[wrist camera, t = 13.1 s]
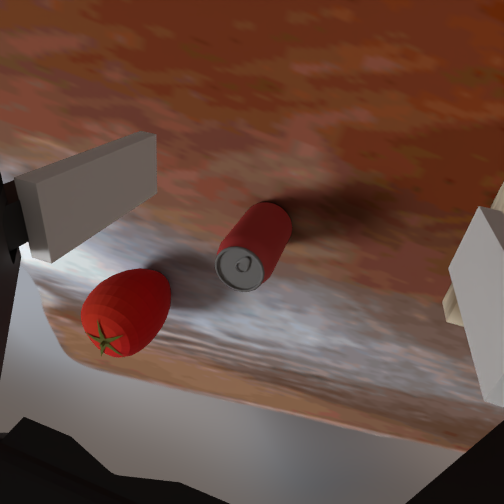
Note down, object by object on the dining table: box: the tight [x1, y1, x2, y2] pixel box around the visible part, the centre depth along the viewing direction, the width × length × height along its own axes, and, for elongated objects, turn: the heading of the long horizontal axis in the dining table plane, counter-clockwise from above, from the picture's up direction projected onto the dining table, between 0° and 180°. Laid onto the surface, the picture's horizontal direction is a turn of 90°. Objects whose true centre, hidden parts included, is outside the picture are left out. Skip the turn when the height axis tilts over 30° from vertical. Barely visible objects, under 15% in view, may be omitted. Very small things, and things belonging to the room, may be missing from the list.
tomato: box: [81, 268, 171, 357], centre depth 55 cm, size 13×11×14 cm
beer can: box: [215, 202, 292, 292], centre depth 44 cm, size 7×7×12 cm
